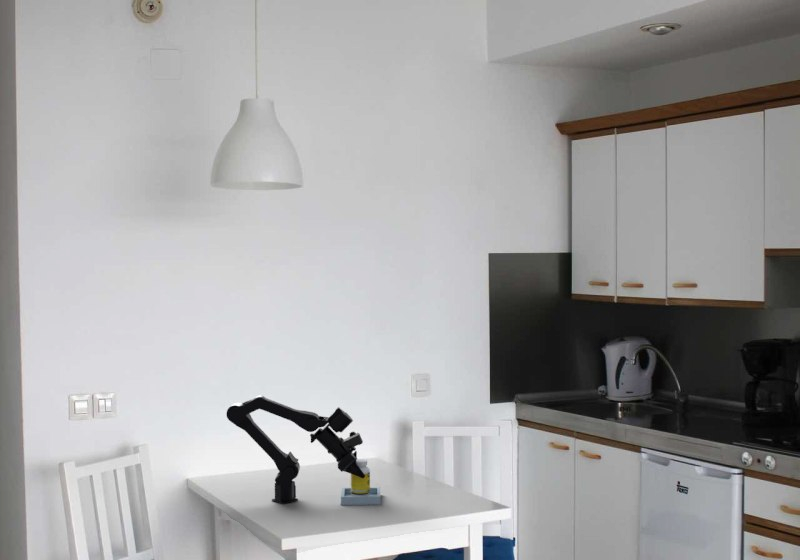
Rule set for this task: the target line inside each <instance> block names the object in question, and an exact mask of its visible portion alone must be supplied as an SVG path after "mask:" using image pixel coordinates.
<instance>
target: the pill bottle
mask: <svg viewBox="0 0 800 560" xmlns="http://www.w3.org/2000/svg"><path fill="white" fill-rule="evenodd" d="M356 463H357V465H358V466H359V468H360V469H361V470H362V472H363V473H364V475H365V477H364V478H361V477H358V476H356V475H353V474H350V488H351V495H353V496H368V495H369V494H370V487H371V470H370V468H369V467H367V466H368V460H367V459H364V458H357V459H356Z"/></svg>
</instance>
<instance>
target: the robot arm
mask: <svg viewBox="0 0 800 560" xmlns="http://www.w3.org/2000/svg"><path fill="white" fill-rule="evenodd" d="M258 410H261V411H264V412H267V413H270V414H272V415H275V416H278V417H281V418H282V419H286V420H287V421H291V422H292V423H294V424H296V425H297V426H298V427H299V428H301V429H303V430H305V432H309V433H310V435H309V436H310V443H311V444H312V443H314V442H315V441H317V442H318V443H319V444H321V446H322V447H323V448H324V449H325V450H327V453H328V454H329V455H332V457H333V458H334V459H335V461H336V462H337V469H339V471H340V472H341V473H342V472H343V473H344V472H345V473H347V474H350V475H351V474H353V475H356V476H358V477H361V478H364V477H365V475H364V473H363V472H362V470H361V469H360V468H359V466H358V465H357V463H356V459H358V458H357V457H358V455H357V453H358V452H357V451H358V450H356V449H357V448H356V446H360V445H362V444H363V443H364V442H363V441H364V440H363V439H362V436H361V434H360V432H355V431H353V430H352V431H351V432H349V436H347V438H345V439H344V438H343V437H339V436H338V435H337V433H343V432H344V431H345V430H346V428H348V427H349V426H350V424H352V423H353V422H354V420H353V418H352V417H351V416H350V415H349V414H348V413H347V412H345V411H344V410H343V409H341V408H340V406H339V407H337V408H336V409H335V410H334V411H333V412H332V413H331V414H330V416H323V415H319V414H318V413H316V412H313V411H309V410H300V409H296V408H292V407H290V406H288V405H285V404H283V403H279V402H277V401H275V400H272V399H269V398H268V397H265V396H264V395H257V396H256V397H254V398H252V399H249V400H246V401H244V402H234V403H233V404H231V405H230V406H229V407H228V408H227V409H226V418H227V420H228V421H229V422H230V423H232V424H234V425H235V426H236V427H238V428H239V429H242V430H243V431H244V432H246V434H247V435H249V436H250V438H251V439H252V440H253V441H254V442H255V443H256V444H257V445H258V447H260V448H261V449H262V450H263V452H265V453H266V455H268V456H269V457H270V459H271V460H272V461H273V462H274V464H275V466H276V468H277V470H278V473H277V474H276V476H275V479H274V498H272V499H271V501H272V502H276V503H279V504H288V503H292V502H296V501H299V499H298V498H297V494H296V493H297V492H296V491H297V489H296V488H297V486H296V481H294V479H296V478H297V477H298V476H299V472H300V470H301V469H300V468H301V466H300V463H299V458H296V457H295V456H294V454H293V453H292V452H291V451H289V452H288V453H286V452H284V451H282V449H281V448H280V447H279V446H278V445H277V444H276V443H275V441H273V440H272V439H271V438H270V437H269V436H268V435H267V434H266V432H265V431H263V430H262V429H261V427H260V426H258V424H257V423H256V422H255V421H254V419H253V417H252V415H251V413H253V412H255V411H258ZM313 432H314V433H313ZM353 451H354V452H353Z"/></svg>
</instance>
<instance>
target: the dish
mask: <svg viewBox="0 0 800 560" xmlns="http://www.w3.org/2000/svg"><path fill="white" fill-rule="evenodd" d="M340 494H341V495H340V506H348V505H349V506H350V505H351V506H353V505H354V506H355V505H359V506H363V505H365V506H366V505H368V504H369V505H381V487H379V486H376V487H374V486H373V487H371V486H370V494H369V495H368V496H353V495H351V487H342V488H341V493H340Z"/></svg>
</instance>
